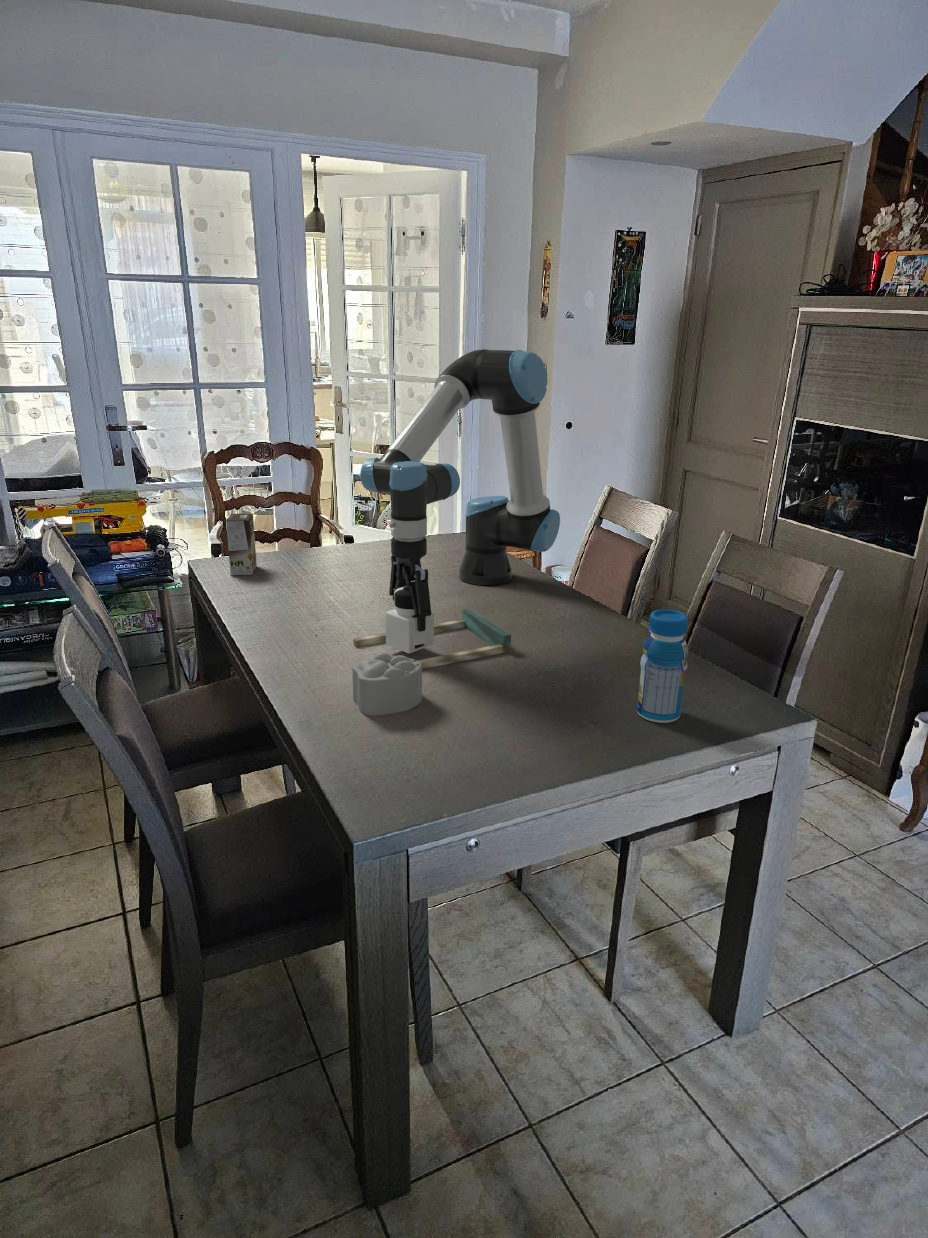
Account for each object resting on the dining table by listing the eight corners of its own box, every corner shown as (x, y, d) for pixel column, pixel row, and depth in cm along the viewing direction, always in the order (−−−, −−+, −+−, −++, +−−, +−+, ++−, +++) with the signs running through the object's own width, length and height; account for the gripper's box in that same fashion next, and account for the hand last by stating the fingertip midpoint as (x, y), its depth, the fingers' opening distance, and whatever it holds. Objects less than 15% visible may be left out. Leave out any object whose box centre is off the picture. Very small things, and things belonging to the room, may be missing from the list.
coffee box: (253, 575, 227) (248, 520, 222) (230, 575, 226) (225, 520, 221) (257, 566, 236) (253, 512, 230) (235, 566, 235) (230, 512, 229)
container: (434, 644, 176) (434, 588, 172) (409, 654, 171) (408, 597, 167) (410, 635, 181) (410, 581, 177) (385, 644, 176) (383, 588, 171)
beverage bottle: (653, 728, 146) (664, 626, 138) (626, 708, 153) (636, 610, 146) (690, 720, 149) (703, 619, 142) (662, 701, 156) (673, 604, 149)
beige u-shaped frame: (469, 623, 194) (469, 608, 192) (510, 651, 178) (511, 634, 177) (353, 644, 180) (352, 628, 179) (386, 676, 165) (386, 658, 163)
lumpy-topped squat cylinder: (349, 695, 156) (348, 654, 153) (412, 685, 161) (412, 645, 158) (364, 718, 147) (363, 675, 144) (430, 707, 152) (430, 665, 149)
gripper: (372, 527, 175) (375, 622, 183) (414, 552, 157) (415, 656, 165) (403, 523, 178) (404, 617, 186) (448, 547, 160) (447, 650, 168)
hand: (409, 636), depth 176 cm, fingers closed on container, 9 cm apart
